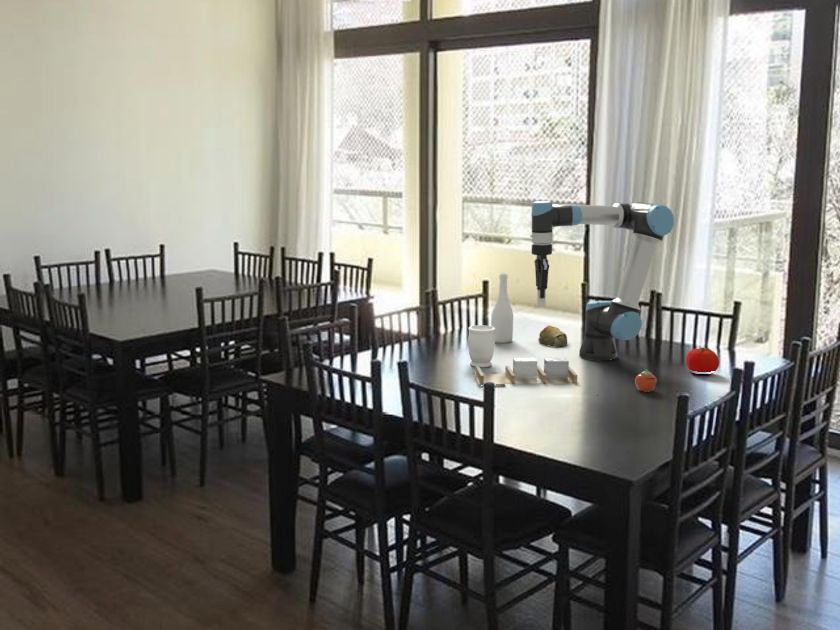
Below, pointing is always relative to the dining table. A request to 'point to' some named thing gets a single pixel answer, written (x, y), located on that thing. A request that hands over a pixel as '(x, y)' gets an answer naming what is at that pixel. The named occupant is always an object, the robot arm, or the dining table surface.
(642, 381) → the tomato
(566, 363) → the panel
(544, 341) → the pastry
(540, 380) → the rack
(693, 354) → the tomato
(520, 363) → the white rectangular block
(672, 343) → the dining table surface
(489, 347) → the jar
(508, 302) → the wine bottle
